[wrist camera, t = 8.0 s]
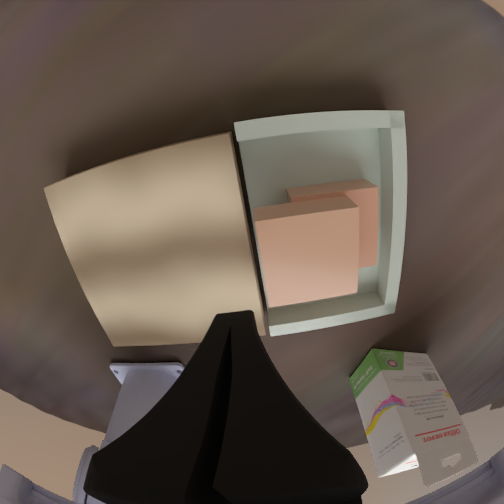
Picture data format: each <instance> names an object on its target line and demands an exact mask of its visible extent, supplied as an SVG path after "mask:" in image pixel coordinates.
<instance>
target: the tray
mask: <svg viewBox="0 0 504 504" xmlns="http://www.w3.org/2000/svg"><path fill="white" fill-rule="evenodd" d="M234 127H235V133H236V138H237V141H238V142H239V147H240V153H241V159H242V164H243V170H244V176H245V182H246V187H247V193H248V199H249V205H250V211H251V216H252V222H253V228H254V234H255V240H256V246H257V251H258V257H259V263H260V269H261V275H262V281H263V287H264V293H265V299H266V305H267V311H268V321H269V329H270V335H271V336H278V335H285V334H291V333H297V332H304V331H309V330H315V329H321V328H326V327H332V326H337V325H342V324H347V323H352V322H357V321H361V320H366V319H370V318H375V317H379V316H383V315H388V314H392V313H395V308H396V302H397V296H398V290H399V283H400V276H401V268H402V260H403V250H404V239H405V226H406V208H407V148H406V130H405V117H404V111H394V110H350V111H328V112H313V113H301V114H291V115H282V116H274V117H266V118H259V119H252V120H245V121H239V122H234ZM359 179H366V180H368V181H369V182H371V183H373V184H374V185H376V186H377V187H378V195H379V220H378V251H377V265H374V266H369V267H364V268H358V289H357V293H354V294H348V295H343V296H338V297H332V298H326V299H321V300H315V301H309V302H303V303H297V304H290V305H284V306H277V307H271V308H269V305H268V299H267V293H266V287H265V281H264V275H263V269H262V263H261V257H260V251H259V245H258V239H257V233H256V227H255V220H254V208H257V207H264V206H270V205H277V204H284V203H288V200H287V193H286V188H293V187H300V186H308V185H315V184H323V183H332V182H340V181H349V180H359Z"/></svg>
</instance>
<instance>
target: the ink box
mask: <svg viewBox="0 0 504 504" xmlns="http://www.w3.org/2000/svg"><path fill="white" fill-rule="evenodd" d="M349 381H350V384H351V387H352V390H353V393H354V396H355V400H356V403H357V406H358V409H359V412H360V415H361V419H362V422H363V425H364V429H365V432H366V435H367V439H368V442H369V446H370V449H371V452H372V456H373V460H374V464H375V468H376V471H377V475H378V478H379V477H383V476H387V475H391V474H395V473H398V472H402V471H406V470H409V469H412V468H416V467H419V468H420V472H421V476H422V480H423V484H424V486H425V487H429V486H431V485H433V484H435V483H438V482H440V481H442V480H445V479H447V478H450V477H452V476H454V475H456V474H458V473H460V472H462V471H464V470H466V469H467V468H469V467H471V466H473V465H475V464H477V462H478V459H477V455H476V453H475V450H474V448H473V445H472V442H471V440H470V438H469V434H468V432H467V430H466V428H465V426H464V423H463V421H462V419H461V417H460V415H459V413H458V411H457V409H456V407H455V405H454V403H453V401H452V399H451V397H450V395H449V393H448V391H447V389H446V387H445V386H444V384H443V382H442V380H441V378H440V376H439V374H438V373H437V371H436V369H435V367H434V365H433V364H432V362H431V360H430V358H429V357H428V355H427V354H426V353H413V352H402V351H392V350H384V349H375V348H374V349H371V350H370V352H369V353H368V354H367V356H366V357H365V359H364V360H363V361H362V363H361V364H360V365H359V367H358V368H357V369H356V371H355V372H354V373H353V374H352V376H351V377H350V378H349ZM455 455H459V456H460V460H459V461H457V462H456V463H455V465H454V466H453V467H451V466H450V465H448V466H446V467H443V466H442V464H441V462H442V461H443V460H445V459H447V458H450V457H453V456H455Z"/></svg>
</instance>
